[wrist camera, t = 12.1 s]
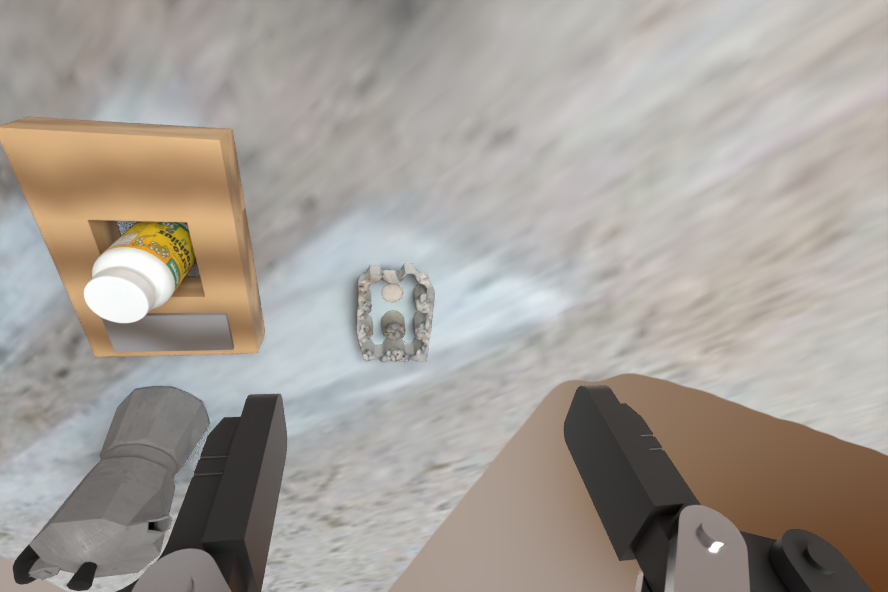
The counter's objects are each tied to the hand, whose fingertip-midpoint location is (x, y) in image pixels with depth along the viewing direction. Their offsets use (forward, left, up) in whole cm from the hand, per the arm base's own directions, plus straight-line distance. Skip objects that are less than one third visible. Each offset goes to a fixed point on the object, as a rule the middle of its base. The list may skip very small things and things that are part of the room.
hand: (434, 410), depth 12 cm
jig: (+10, -19, -30) cm, 37 cm away
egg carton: (+17, +1, -30) cm, 35 cm away
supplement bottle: (+10, -19, -30) cm, 37 cm away
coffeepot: (+32, -25, -30) cm, 51 cm away
